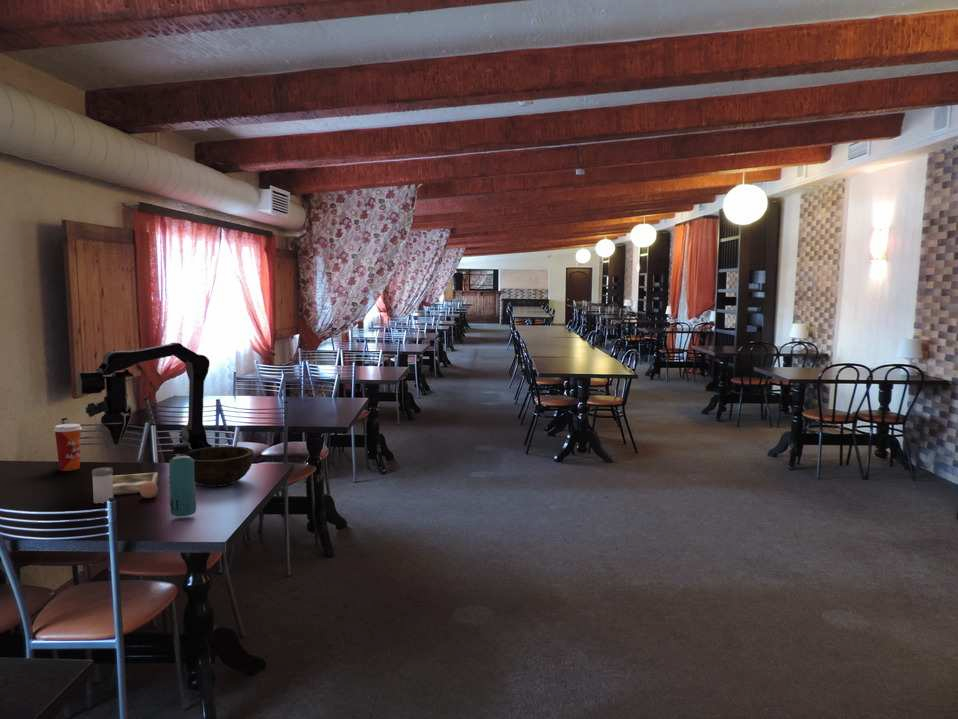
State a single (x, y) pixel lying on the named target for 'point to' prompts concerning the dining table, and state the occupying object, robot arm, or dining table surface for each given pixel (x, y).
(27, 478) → the dining table surface
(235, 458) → the bowl
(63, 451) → the coffee cup
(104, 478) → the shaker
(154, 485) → the ball
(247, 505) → the dining table surface
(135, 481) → the tray
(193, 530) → the dining table surface
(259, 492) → the dining table surface
